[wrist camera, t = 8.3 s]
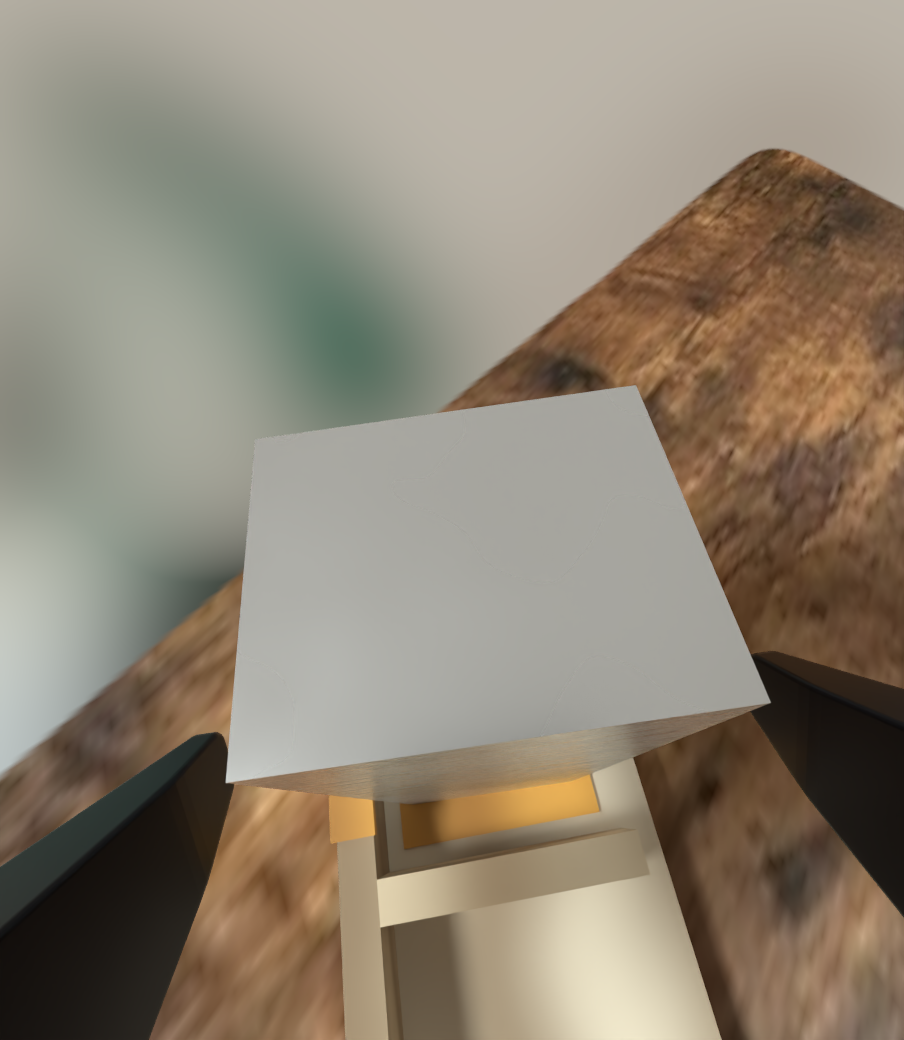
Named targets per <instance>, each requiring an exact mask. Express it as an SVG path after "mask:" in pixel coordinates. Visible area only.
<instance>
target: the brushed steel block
mask: <svg viewBox="0 0 904 1040" xmlns="http://www.w3.org/2000/svg"><path fill="white" fill-rule="evenodd" d="M769 703H771V702H770V699H769V697H768V695H767V692H766V690H765V688H764V685H763V683H762V680H761V678H760V676H759V673H758V671H757V669H756V666H755V664H754V662H753V659H752V657H751V655H750V652H749V650H748V648H747V645H746V643H745V641H744V638H743V636H742V633H741V631H740V629H739V626H738V624H737V622H736V619H735V617H734V615H733V612H732V610H731V608H730V605H729V603H728V601H727V598H726V596H725V594H724V591H723V589H722V586H721V584H720V582H719V579H718V577H717V575H716V572H715V570H714V568H713V565H712V563H711V561H710V558H709V556H708V554H707V551H706V549H705V547H704V544H703V542H702V539H701V537H700V535H699V532H698V530H697V528H696V525H695V523H694V521H693V518H692V516H691V514H690V511H689V509H688V507H687V504H686V502H685V500H684V497H683V495H682V492H681V490H680V488H679V485H678V483H677V481H676V478H675V476H674V474H673V471H672V469H671V467H670V464H669V462H668V460H667V457H666V455H665V452H664V450H663V448H662V445H661V443H660V441H659V438H658V436H657V434H656V431H655V429H654V427H653V424H652V422H651V420H650V417H649V415H648V413H647V410H646V408H645V405H644V403H643V401H642V398H641V396H640V394H639V391H638V389H637V387H636V385H635V386H627V387H620V388H613V389H606V390H599V391H592V392H585V393H578V394H571V395H564V396H557V397H550V398H543V399H536V400H529V401H521V402H514V403H507V404H500V405H493V406H486V407H479V408H472V409H465V410H458V411H451V412H444V413H437V414H431V415H423V416H416V417H408V418H401V419H394V420H387V421H380V422H373V423H366V424H359V425H352V426H345V427H338V428H331V429H324V430H316V431H310V432H302V433H295V434H289V435H281V436H275V437H267V438H260V439H255V448H254V460H253V471H252V483H251V494H250V506H249V518H248V529H247V541H246V552H245V564H244V576H243V587H242V599H241V610H240V622H239V633H238V645H237V657H236V668H235V680H234V691H233V703H232V715H231V726H230V738H229V749H228V761H227V772H226V783H230V784H239V785H247V786H256V787H264V788H273V789H282V790H290V791H299V792H308V793H316V794H325V795H333V796H342V797H351V798H359V799H368V800H376V801H385V802H394V803H402V804H411V805H415V804H422V803H428V802H435V801H442V800H449V799H455V798H462V797H469V796H476V795H483V794H489V793H496V792H503V791H510V790H516V789H523V788H530V787H537V786H543V785H550V784H557V783H564V782H571V781H574V780H577V779H579V778H582V777H584V776H587V775H589V774H592V773H594V772H597V771H599V770H602V769H604V768H607V767H610V766H612V765H615V764H617V763H620V762H622V761H625V760H627V759H630V758H632V757H635V756H637V755H640V754H643V753H645V752H648V751H650V750H653V749H655V748H658V747H660V746H663V745H665V744H668V743H670V742H673V741H676V740H678V739H681V738H683V737H686V736H688V735H691V734H693V733H696V732H698V731H701V730H703V729H706V728H709V727H711V726H714V725H716V724H719V723H721V722H724V721H726V720H729V719H731V718H734V717H736V716H739V715H742V714H744V713H747V712H749V711H752V710H754V709H757V708H759V707H762V706H764V705H767V704H769Z"/></svg>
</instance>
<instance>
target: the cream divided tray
mask: <svg viewBox="0 0 904 1040" xmlns="http://www.w3.org/2000/svg"><path fill="white" fill-rule="evenodd" d="M329 816H330V843H331V844H332V843H337V851H338V874H339V898H340V922H341V946H342V969H343V993H344V1017H345V1040H722V1039H721V1036H720V1033H719V1030H718V1027H717V1024H716V1020H715V1017H714V1014H713V1011H712V1008H711V1004H710V1001H709V998H708V995H707V992H706V988H705V985H704V982H703V979H702V976H701V973H700V969H699V966H698V963H697V960H696V957H695V953H694V950H693V947H692V944H691V941H690V938H689V934H688V931H687V928H686V925H685V922H684V918H683V915H682V912H681V909H680V906H679V902H678V899H677V896H676V893H675V890H674V887H673V883H672V880H671V877H670V874H669V871H668V867H667V864H666V861H665V858H664V855H663V851H662V848H661V845H660V842H659V839H658V836H657V832H656V829H655V826H654V823H653V820H652V816H651V813H650V810H649V807H648V804H647V800H646V797H645V794H644V791H643V788H642V785H641V781H640V778H639V775H638V772H637V769H636V765H635V762H634V759H633V757H632V758H630V759H627V760H625V761H622V762H620V763H617V764H615V765H612V766H610V767H607V768H604V769H602V770H599V771H597V772H594V773H592V774H589V775H587V776H584V777H582V778H579V779H577V780H574V781H571V782H564V783H557V784H550V785H543V786H537V787H530V788H523V789H516V790H510V791H503V792H496V793H489V794H483V795H476V796H469V797H462V798H455V799H449V800H442V801H435V802H428V803H422V804H415V805H411V804H402V803H394V802H385V801H376V800H368V799H359V798H351V797H342V796H333V795H329Z"/></svg>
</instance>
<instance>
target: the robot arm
mask: <svg viewBox="0 0 904 1040" xmlns="http://www.w3.org/2000/svg"><path fill="white" fill-rule="evenodd" d="M751 657H752V659H753V662H754V664H755V666H756V669H757V671H758V673H759V676H760V678H761V680H762V683H763V685H764V688H765V690H766V692H767V695H768V697H769V699H770V702H771V703H769V704H767V705H764V706H762V707H759V708H757V709H754V710H752V711H750V712H751V713H752V715H753V716H754V718H755V719H756V721H757V722H758V724H759V725H760V727H761V729H762V730H763V732H764V733H765V735H766V736H767V738H768V739H769V741H770V742H771V744H772V745H773V747H774V748H775V750H776V751H777V753H778V754H779V756H780V757H781V759H782V760H783V762H784V763H785V765H786V766H787V768H788V769H789V771H790V772H791V774H792V775H793V777H794V779H795V780H796V781H797V783H798V784H799V786H800V787H801V789H802V790H803V791H804V793H805V794H806V796H807V797H808V798H809V799H810V801H811V802H812V803H813V805H814V806H815V807H816V809H817V810H818V811H819V812H820V814H821V815H822V816H823V817H824V819H825V820H826V821H827V822H828V824H829V825H830V826H831V827H832V829H833V830H834V831H835V832H836V833H837V835H838V836H839V837H840V838H841V840H842V841H843V842H844V843H845V845H846V846H847V847H848V848H849V850H850V851H851V852H852V853H853V855H854V856H855V857H856V858H857V860H858V861H859V862H860V863H861V865H862V866H863V867H864V868H865V870H866V871H867V872H868V873H869V875H870V876H871V877H872V878H873V880H874V881H875V882H876V883H877V885H878V886H879V887H880V888H881V890H882V891H883V892H884V893H885V895H886V896H887V897H888V898H889V900H890V901H891V902H892V903H893V905H894V906H895V907H896V908H897V910H898V911H899V912H900V913H901V915H902V916H903V917H904V689H902V688H898V687H895V686H891V685H888V684H885V683H881V682H878V681H874V680H871V679H868V678H864V677H861V676H858V675H854V674H851V673H847V672H844V671H841V670H837V669H834V668H830V667H827V666H824V665H820V664H817V663H813V662H810V661H807V660H803V659H800V658H797V657H793V656H790V655H786V654H783V653H780V652H776V651H768V652H761V653H754V654H751ZM227 761H228V750H227V746H226V743H225V740H224V737H223V736H222V734H220V733H218V732H213V733H206V734H200V735H195V736H193V737H191V738H190V739H188V740H187V741H186V742H184V743H183V744H181V745H180V746H178V747H177V748H175V749H174V750H172V751H171V752H169V753H168V754H166V755H165V756H163V757H162V758H160V759H159V760H157V761H156V762H154V763H153V764H152V765H150V766H149V767H147V768H146V769H144V770H143V771H141V772H140V773H138V774H137V775H135V776H134V777H132V778H131V779H129V780H128V781H126V782H125V783H123V784H122V785H120V786H119V787H118V788H116V789H115V790H113V791H112V792H110V793H109V794H107V795H106V796H104V797H103V798H101V799H100V800H98V801H97V802H95V803H94V804H92V805H91V806H89V807H88V808H86V809H85V810H83V811H82V812H81V813H79V814H78V815H76V816H75V817H73V818H72V819H70V820H69V821H67V822H66V823H64V824H63V825H61V826H60V827H58V828H57V829H55V830H54V831H52V832H51V833H49V834H48V835H47V836H45V837H44V838H42V839H41V840H39V841H38V842H36V843H35V844H33V845H32V846H30V847H29V848H27V849H26V850H24V851H23V852H21V853H20V854H18V855H17V856H15V857H14V858H13V859H11V860H10V861H8V862H7V863H5V864H4V865H2V866H1V867H0V1040H149V1038H150V1035H151V1032H152V1030H153V1027H154V1024H155V1022H156V1019H157V1016H158V1014H159V1011H160V1008H161V1006H162V1003H163V1001H164V998H165V995H166V993H167V990H168V987H169V985H170V982H171V979H172V977H173V974H174V971H175V969H176V966H177V963H178V961H179V958H180V955H181V953H182V950H183V947H184V945H185V942H186V940H187V937H188V934H189V932H190V929H191V926H192V924H193V921H194V918H195V916H196V913H197V910H198V908H199V905H200V902H201V900H202V897H203V894H204V891H205V888H206V886H207V883H208V880H209V876H210V873H211V870H212V866H213V863H214V859H215V855H216V852H217V848H218V844H219V840H220V837H221V833H222V829H223V826H224V822H225V818H226V815H227V811H228V807H229V804H230V800H231V796H232V793H233V789H234V784H230V783H226V772H227Z"/></svg>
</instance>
